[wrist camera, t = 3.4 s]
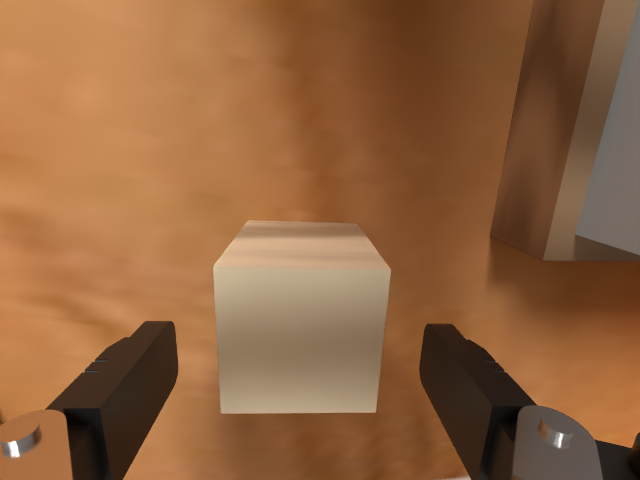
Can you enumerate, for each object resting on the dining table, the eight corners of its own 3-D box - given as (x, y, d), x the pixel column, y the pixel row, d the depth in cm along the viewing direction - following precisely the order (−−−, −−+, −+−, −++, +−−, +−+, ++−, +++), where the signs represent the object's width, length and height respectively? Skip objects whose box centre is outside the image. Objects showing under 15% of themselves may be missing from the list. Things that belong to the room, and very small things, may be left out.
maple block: (248, 219, 15) (213, 266, 9) (356, 223, 15) (391, 270, 9) (250, 317, 16) (220, 413, 10) (349, 318, 16) (375, 412, 10)
